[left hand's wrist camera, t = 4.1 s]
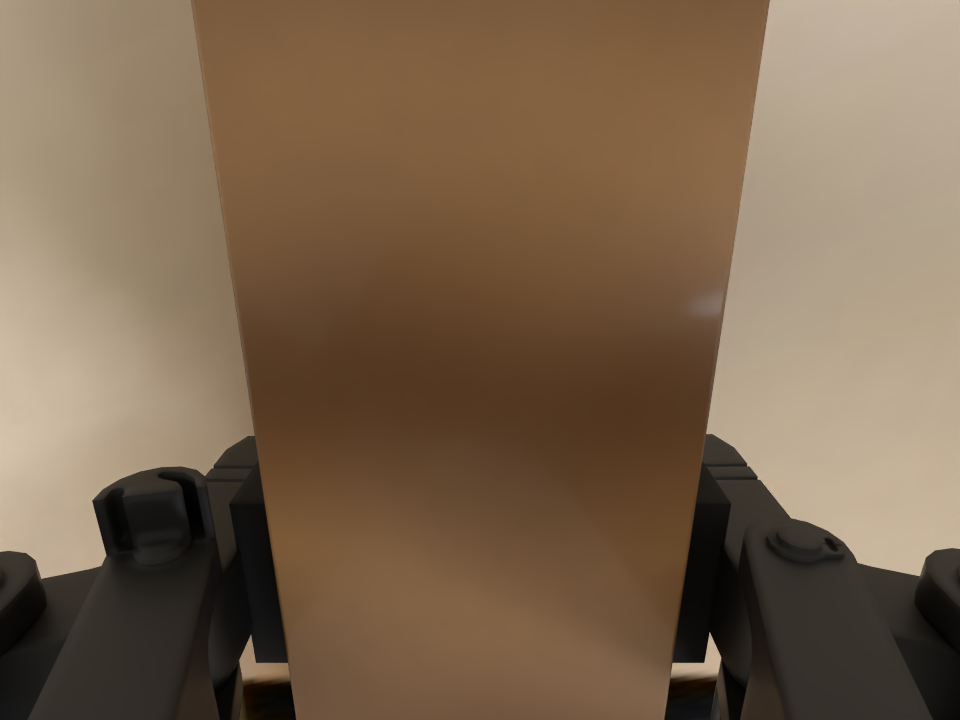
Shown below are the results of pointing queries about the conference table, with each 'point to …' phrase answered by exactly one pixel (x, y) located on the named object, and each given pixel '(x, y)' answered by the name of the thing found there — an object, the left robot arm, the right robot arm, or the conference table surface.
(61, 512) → the conference table surface
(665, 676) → the beam
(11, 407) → the conference table surface
